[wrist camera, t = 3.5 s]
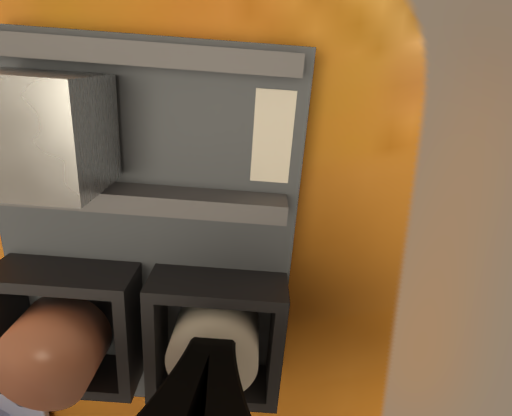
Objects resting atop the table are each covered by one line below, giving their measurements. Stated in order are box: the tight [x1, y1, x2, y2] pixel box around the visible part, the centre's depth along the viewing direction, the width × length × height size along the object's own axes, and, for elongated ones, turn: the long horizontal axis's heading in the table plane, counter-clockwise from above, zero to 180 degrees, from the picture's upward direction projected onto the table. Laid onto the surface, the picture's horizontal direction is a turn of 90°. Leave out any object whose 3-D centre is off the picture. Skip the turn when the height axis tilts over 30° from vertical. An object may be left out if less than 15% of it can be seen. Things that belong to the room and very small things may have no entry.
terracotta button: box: [0, 297, 112, 411], centre depth 12 cm, size 3×3×2 cm
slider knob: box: [0, 67, 121, 209], centre depth 10 cm, size 3×3×3 cm
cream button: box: [165, 307, 259, 391], centre depth 13 cm, size 3×3×2 cm
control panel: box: [0, 24, 316, 414], centre depth 13 cm, size 10×14×4 cm
